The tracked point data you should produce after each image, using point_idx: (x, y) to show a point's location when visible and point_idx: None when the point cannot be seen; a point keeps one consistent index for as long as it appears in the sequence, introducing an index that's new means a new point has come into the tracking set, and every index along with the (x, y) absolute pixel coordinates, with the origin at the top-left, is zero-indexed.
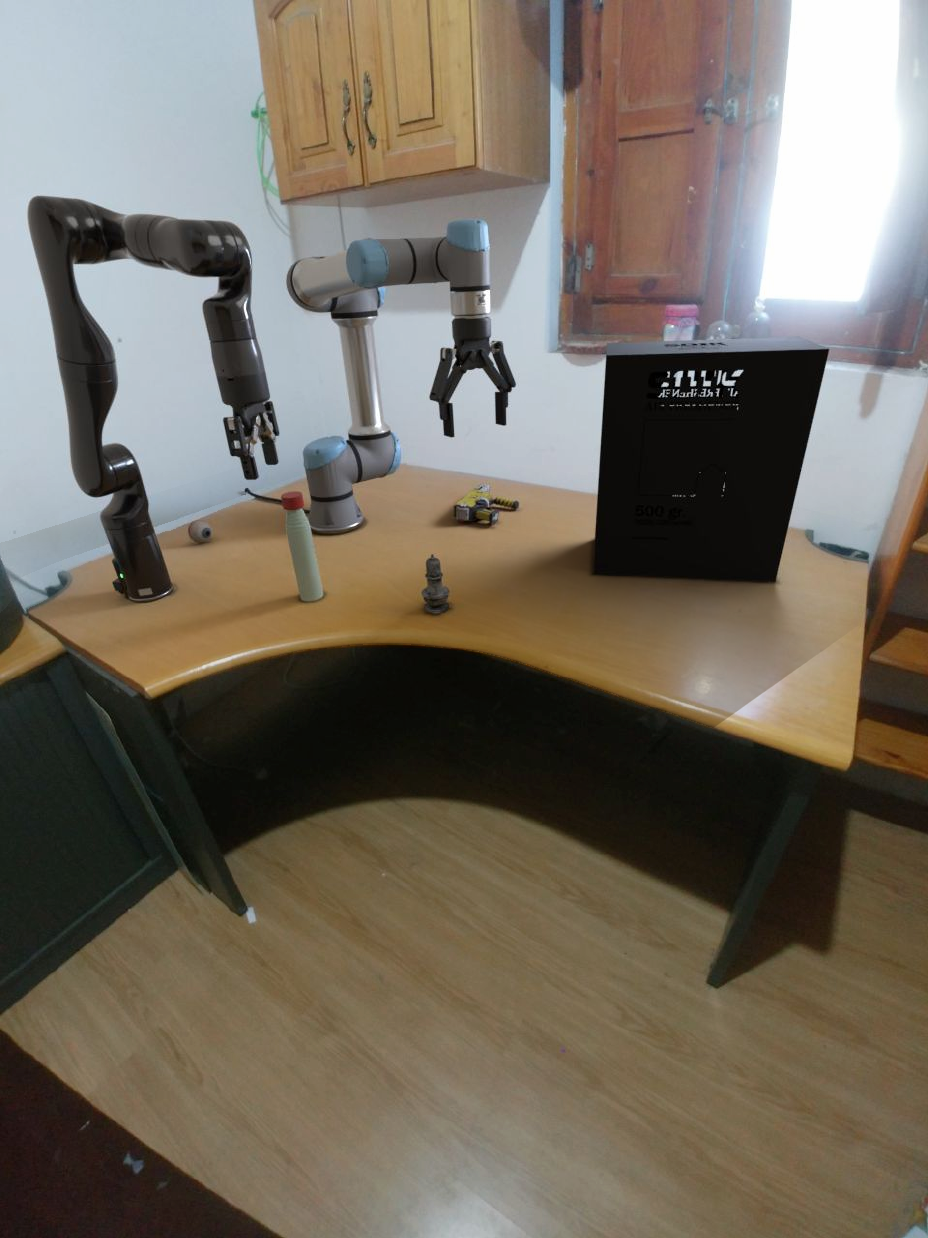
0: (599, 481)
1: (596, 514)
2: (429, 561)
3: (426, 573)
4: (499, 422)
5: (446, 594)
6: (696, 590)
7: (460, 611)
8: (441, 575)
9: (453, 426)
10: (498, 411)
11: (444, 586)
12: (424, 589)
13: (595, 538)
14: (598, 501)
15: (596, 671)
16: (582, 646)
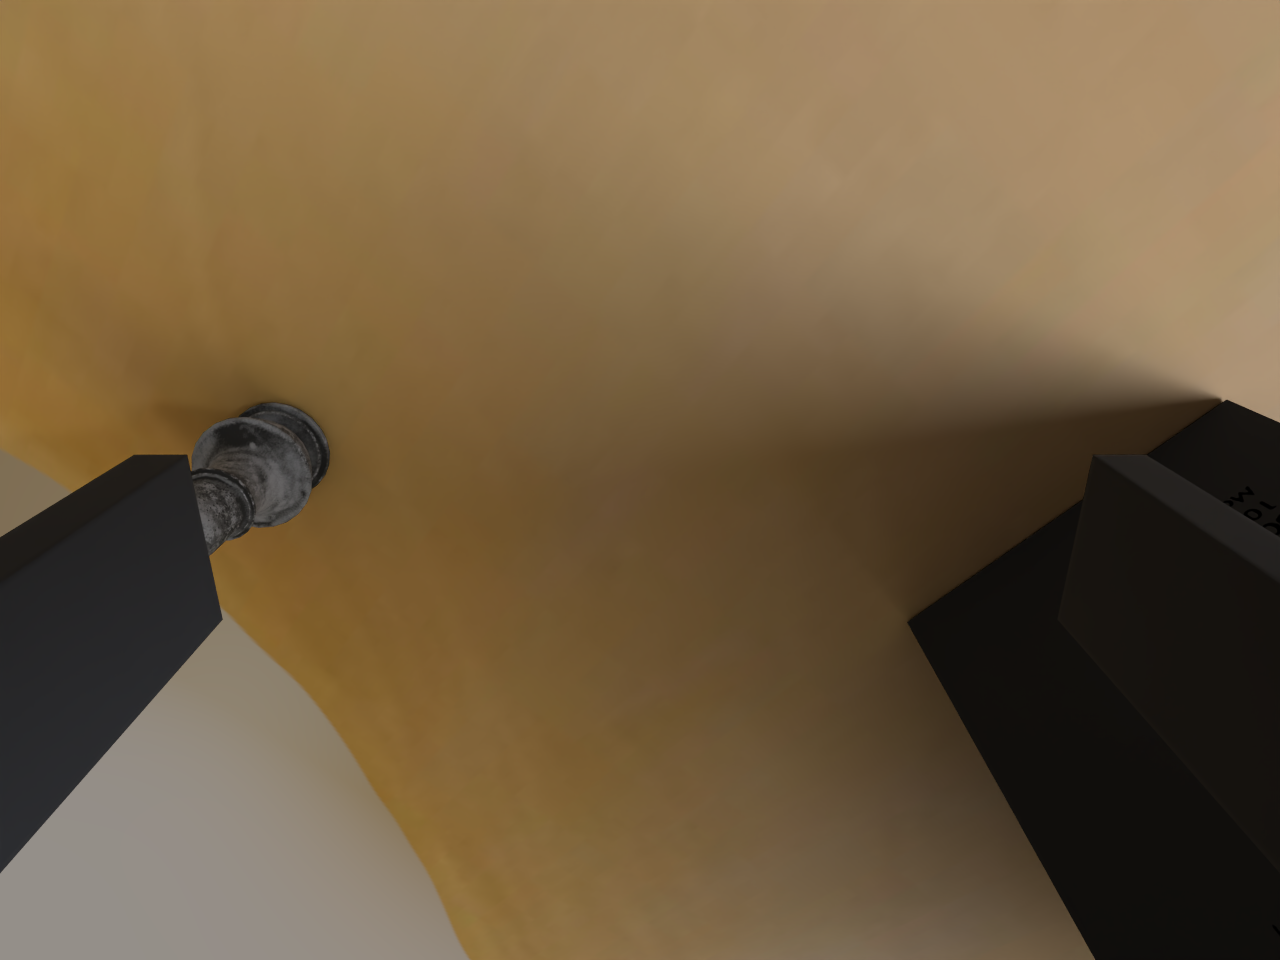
0: (1088, 944)
1: (1075, 712)
2: None
3: (191, 472)
4: (1091, 551)
5: (278, 521)
6: (1024, 869)
7: (345, 522)
8: (238, 534)
9: (141, 701)
10: (1187, 623)
11: (303, 462)
12: (217, 432)
13: (959, 715)
14: (1035, 850)
15: (479, 940)
16: (529, 864)
